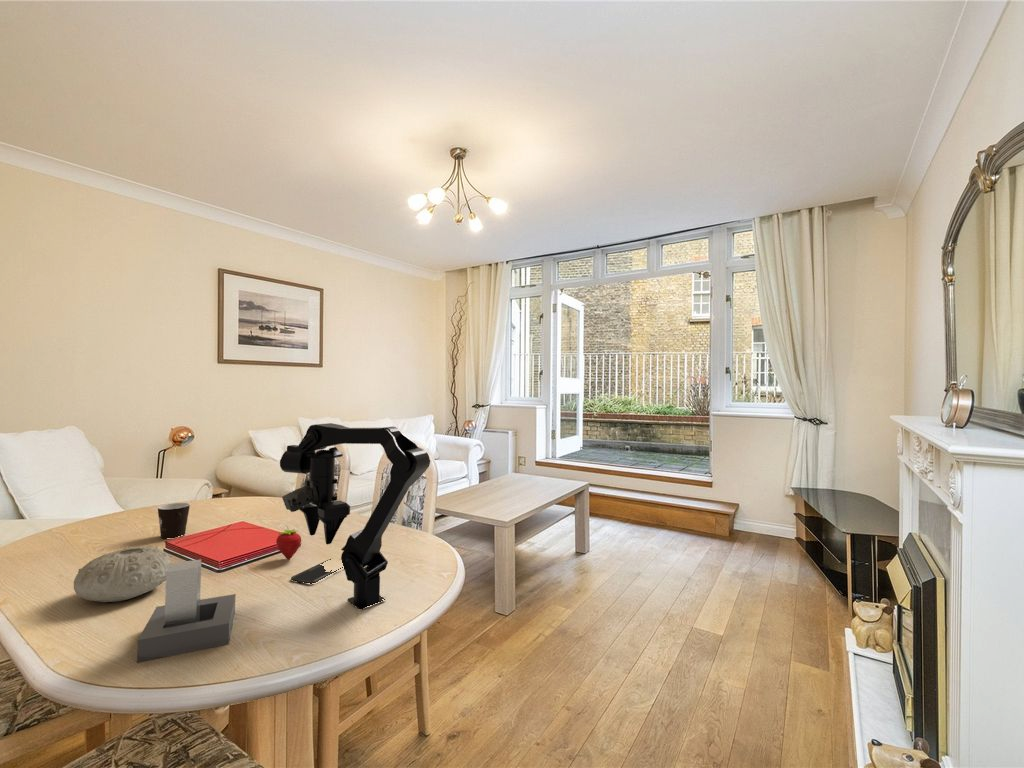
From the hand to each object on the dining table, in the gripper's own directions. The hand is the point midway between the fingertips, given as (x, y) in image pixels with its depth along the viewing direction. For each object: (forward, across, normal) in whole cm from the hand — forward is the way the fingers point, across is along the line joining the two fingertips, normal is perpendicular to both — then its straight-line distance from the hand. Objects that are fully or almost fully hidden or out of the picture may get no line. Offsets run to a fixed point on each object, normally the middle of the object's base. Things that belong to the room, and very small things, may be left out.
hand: (320, 539), depth 110 cm
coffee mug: (+13, -74, -17) cm, 77 cm away
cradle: (+13, +1, -26) cm, 29 cm away
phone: (+14, -12, +6) cm, 19 cm away
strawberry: (+13, -28, +3) cm, 31 cm away
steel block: (+12, +1, -27) cm, 30 cm away
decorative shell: (+13, -32, -33) cm, 48 cm away
